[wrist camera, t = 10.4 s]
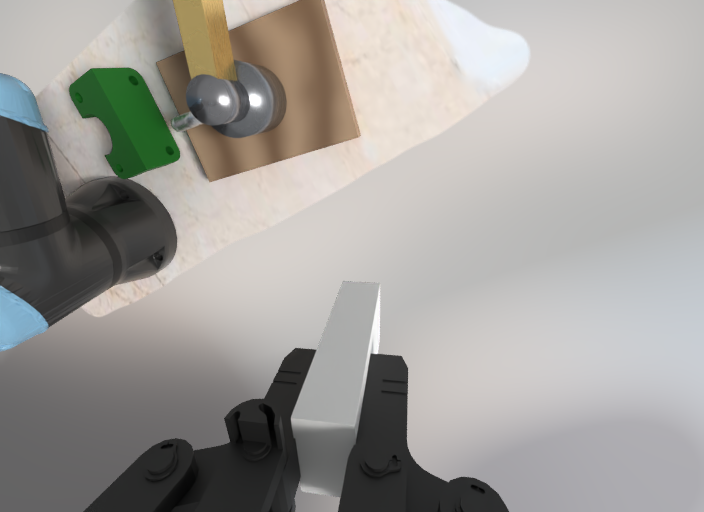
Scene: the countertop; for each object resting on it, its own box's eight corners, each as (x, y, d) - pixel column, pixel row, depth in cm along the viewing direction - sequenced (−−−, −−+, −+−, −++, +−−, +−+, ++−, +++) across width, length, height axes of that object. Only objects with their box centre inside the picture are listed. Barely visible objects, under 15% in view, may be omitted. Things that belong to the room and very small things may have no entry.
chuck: (202, 153, 42) (171, 161, 37) (175, 93, 40) (138, 92, 34) (295, 122, 39) (276, 126, 34) (272, 54, 36) (248, 47, 31)
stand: (217, 178, 45) (209, 182, 44) (167, 64, 40) (155, 62, 39) (360, 135, 40) (358, 137, 38) (323, -3, 35) (318, -8, 33)
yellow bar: (253, 121, 33) (234, 123, 30) (216, 123, 34) (192, 126, 30) (214, -104, 27) (183, -136, 23) (168, -95, 27) (131, -124, 24)
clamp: (143, 99, 47) (63, 73, 39) (169, 83, 44) (88, 52, 36) (156, 185, 47) (78, 177, 39) (183, 175, 44) (105, 163, 36)
